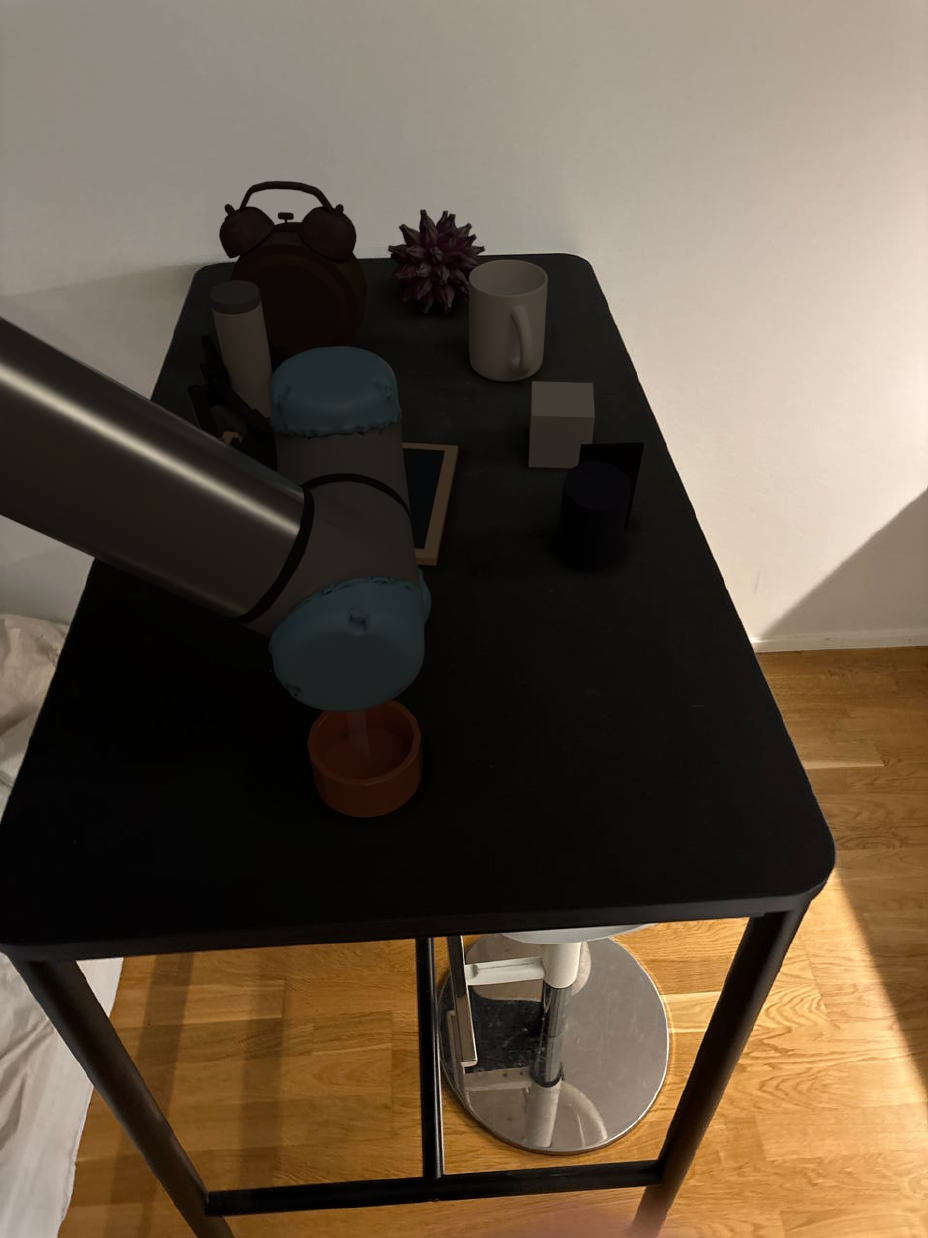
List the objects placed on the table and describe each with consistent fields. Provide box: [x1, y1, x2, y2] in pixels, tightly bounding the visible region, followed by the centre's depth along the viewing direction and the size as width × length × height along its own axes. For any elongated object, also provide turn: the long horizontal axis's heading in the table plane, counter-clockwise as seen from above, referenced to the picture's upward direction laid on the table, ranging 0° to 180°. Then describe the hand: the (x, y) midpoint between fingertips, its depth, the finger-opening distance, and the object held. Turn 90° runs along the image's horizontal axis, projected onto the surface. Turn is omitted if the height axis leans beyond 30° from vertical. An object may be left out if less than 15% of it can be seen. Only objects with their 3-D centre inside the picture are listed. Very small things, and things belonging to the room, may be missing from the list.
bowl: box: [306, 699, 424, 819], centre depth 70 cm, size 8×8×4 cm
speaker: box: [556, 441, 645, 572], centre depth 85 cm, size 8×6×10 cm
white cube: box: [528, 380, 596, 469], centre depth 97 cm, size 6×6×6 cm
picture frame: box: [221, 431, 459, 567], centre depth 93 cm, size 24×17×1 cm
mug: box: [468, 259, 549, 383], centre depth 105 cm, size 12×8×10 cm
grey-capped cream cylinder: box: [209, 280, 273, 443], centre depth 86 cm, size 4×4×18 cm
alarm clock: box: [218, 180, 368, 357], centre depth 104 cm, size 15×7×20 cm, turn 84°
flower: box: [387, 209, 486, 314], centre depth 116 cm, size 12×12×12 cm
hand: (233, 343), depth 88 cm, fingers closed on grey-capped cream cylinder, 4 cm apart
